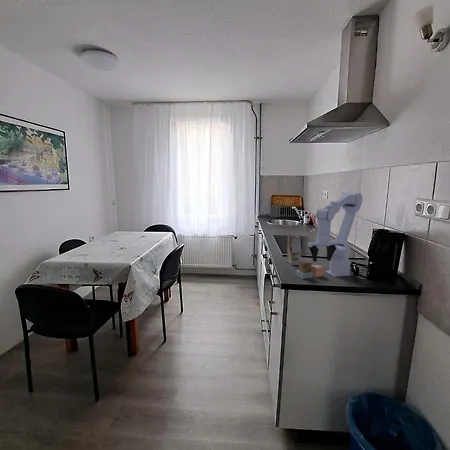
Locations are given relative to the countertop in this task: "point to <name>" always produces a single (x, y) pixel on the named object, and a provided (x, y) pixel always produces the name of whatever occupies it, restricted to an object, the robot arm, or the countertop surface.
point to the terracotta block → (317, 270)
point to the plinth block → (304, 274)
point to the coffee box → (294, 249)
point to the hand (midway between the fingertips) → (321, 260)
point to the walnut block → (304, 266)
